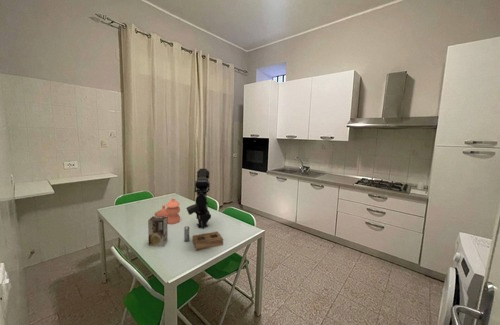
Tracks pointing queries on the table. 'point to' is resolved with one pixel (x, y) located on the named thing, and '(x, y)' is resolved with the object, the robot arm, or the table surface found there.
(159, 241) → the coffee box
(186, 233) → the pin
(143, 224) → the table surface
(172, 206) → the ceramic vessels
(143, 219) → the table surface
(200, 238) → the bore block
